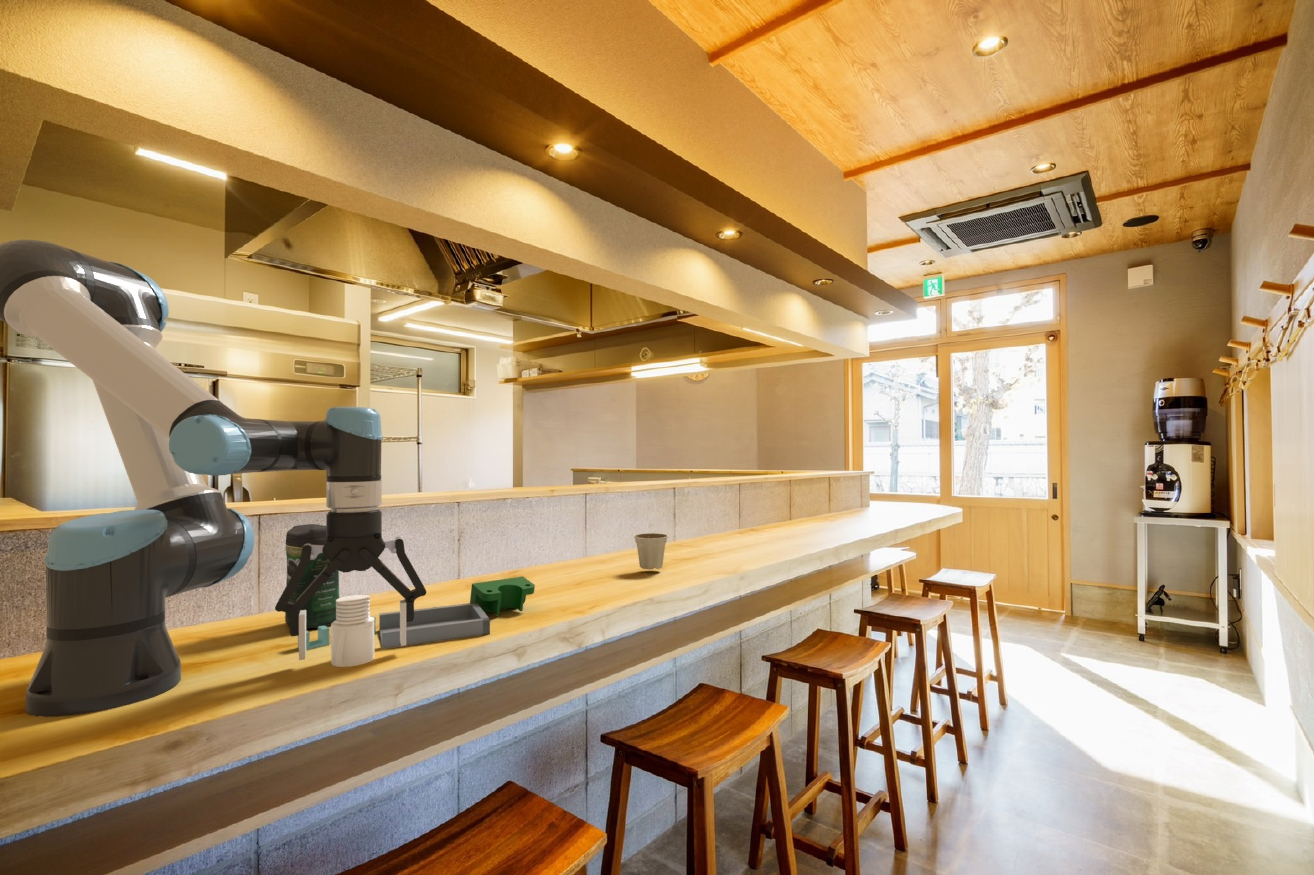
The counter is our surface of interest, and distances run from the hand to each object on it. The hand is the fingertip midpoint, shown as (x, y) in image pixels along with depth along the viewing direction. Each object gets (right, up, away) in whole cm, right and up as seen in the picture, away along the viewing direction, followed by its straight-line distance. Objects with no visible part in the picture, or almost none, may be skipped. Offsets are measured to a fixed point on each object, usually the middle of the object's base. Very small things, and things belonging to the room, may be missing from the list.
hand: (354, 650), depth 92 cm
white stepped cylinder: (0, -3, 0) cm, 2 cm away
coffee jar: (-19, -3, +22) cm, 29 cm away
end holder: (+6, -2, +15) cm, 17 cm away
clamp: (+16, -4, +31) cm, 35 cm away
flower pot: (+44, -3, +73) cm, 85 cm away
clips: (-8, -2, +10) cm, 14 cm away
